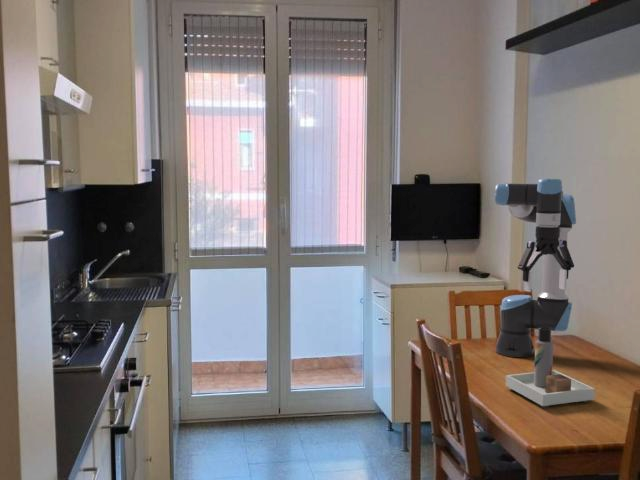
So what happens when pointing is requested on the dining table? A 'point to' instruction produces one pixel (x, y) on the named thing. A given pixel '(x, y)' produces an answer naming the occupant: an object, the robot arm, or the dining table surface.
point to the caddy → (537, 394)
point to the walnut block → (557, 383)
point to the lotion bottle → (543, 356)
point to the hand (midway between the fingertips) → (545, 290)
